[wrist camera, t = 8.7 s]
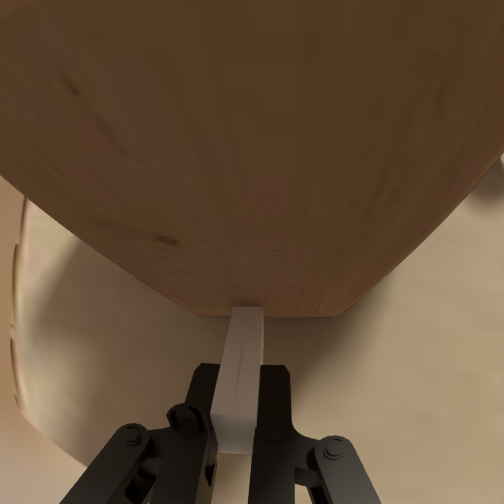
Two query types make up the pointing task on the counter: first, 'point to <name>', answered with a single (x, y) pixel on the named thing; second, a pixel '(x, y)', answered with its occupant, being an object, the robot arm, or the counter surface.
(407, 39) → the wooden block
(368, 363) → the counter surface
